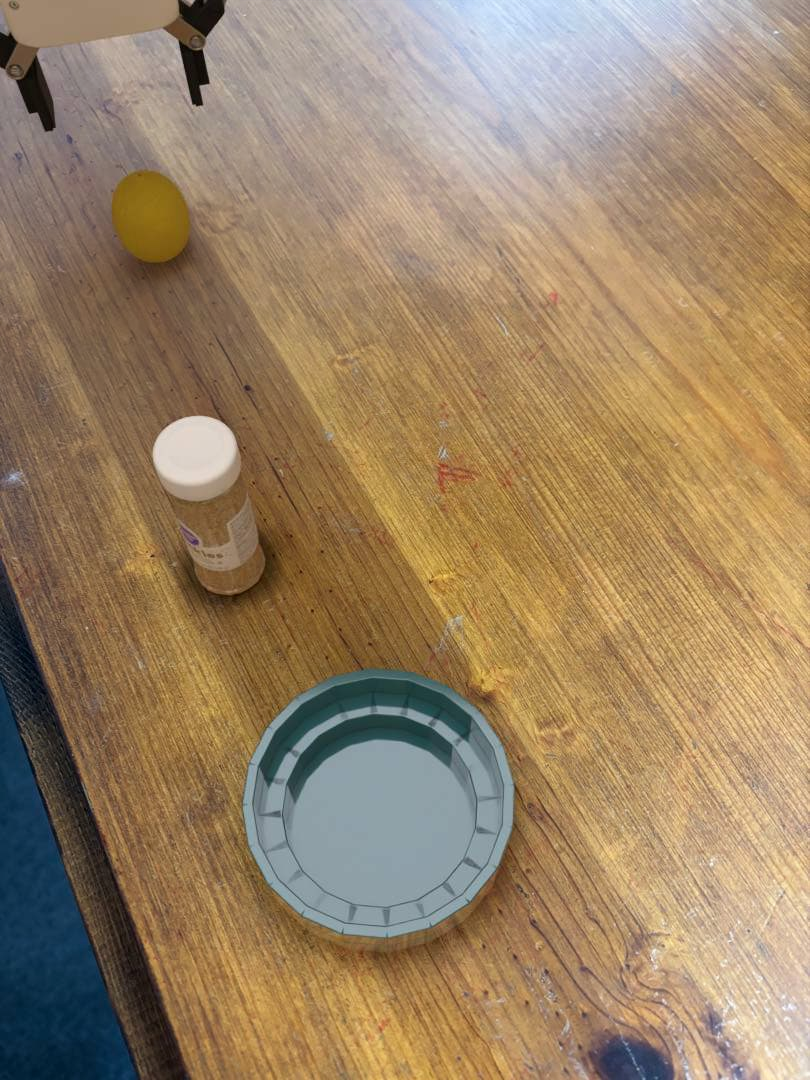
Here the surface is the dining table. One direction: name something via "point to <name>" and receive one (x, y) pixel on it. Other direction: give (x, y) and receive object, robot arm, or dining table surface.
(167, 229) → the lemon
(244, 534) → the sprinkles bottle
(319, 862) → the bowl
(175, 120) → the dining table surface
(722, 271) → the dining table surface
